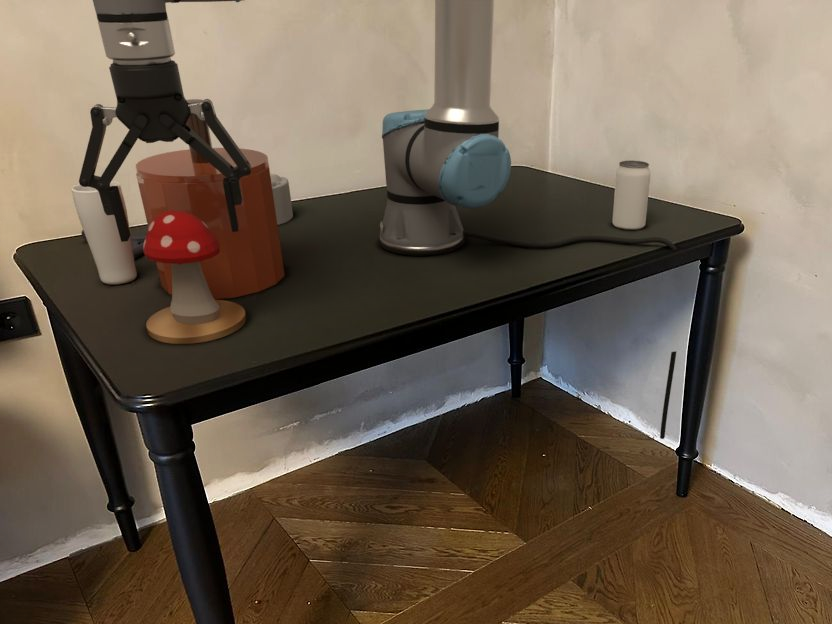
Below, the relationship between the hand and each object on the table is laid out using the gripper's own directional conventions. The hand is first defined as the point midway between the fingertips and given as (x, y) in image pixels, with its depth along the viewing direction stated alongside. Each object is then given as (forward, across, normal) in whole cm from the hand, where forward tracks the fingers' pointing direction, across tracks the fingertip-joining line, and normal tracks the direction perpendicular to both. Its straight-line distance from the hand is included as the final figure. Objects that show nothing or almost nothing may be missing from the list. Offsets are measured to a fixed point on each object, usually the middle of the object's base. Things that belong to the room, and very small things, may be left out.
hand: (181, 233), depth 100 cm
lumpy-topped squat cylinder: (+14, +8, +49) cm, 51 cm away
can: (+15, +78, +27) cm, 83 cm away
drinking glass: (+13, -14, +21) cm, 28 cm away
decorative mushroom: (+12, 0, 0) cm, 12 cm away
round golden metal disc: (+13, 0, 0) cm, 13 cm away
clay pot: (+13, +2, +18) cm, 22 cm away
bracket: (+13, -16, +40) cm, 45 cm away
